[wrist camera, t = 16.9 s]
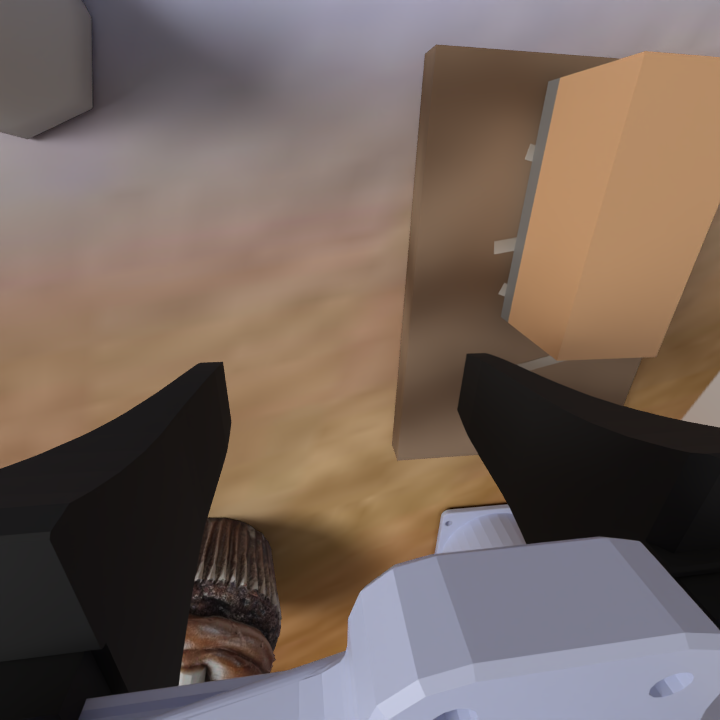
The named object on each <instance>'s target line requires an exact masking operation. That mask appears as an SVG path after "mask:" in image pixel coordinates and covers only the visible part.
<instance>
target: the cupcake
mask: <svg viewBox="0 0 720 720" xmlns="http://www.w3.org/2000/svg"><path fill="white" fill-rule="evenodd" d="M281 619H282V618H281V610H280V602H279V598H278V593H277V588H276V580H275V573H274V565H273V559H272V551H271V547H270V545H269V542H268V541H267V540H266V538H265V537H264V535H263V534H262V533H261V532H259V531H256V530H255V529H254V528H253V527H252V526H250V525H248V524H247V523H244V522H241V521H237V520H232V519H228V518H208V517H207V520H206V524H205V528H204V532H203V537H202V542H201V547H200V553H199V558H198V564H197V569H196V575H195V581H194V587H193V593H192V599H191V604H190V610H189V617H188V624H187V630H186V637H185V644H184V651H183V657H182V664H181V672H180V680H179V686H181V685H188V684H196V683H203V682H210V681H217V680H224V679H231V678H238V677H246V676H253V675H260V674H267V673H270V671H271V669H272V667H273V665H272V663H273V662H274V661H275V660H276V659H275V658H274V657H275V655H274V654H273V651H274V649H275V646H276V643H277V639H278V637H279V635H280V629H281Z"/></svg>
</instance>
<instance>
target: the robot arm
mask: <svg viewBox="0 0 720 720" xmlns="http://www.w3.org/2000/svg"><path fill="white" fill-rule="evenodd" d="M457 411H458V413H459V416H460V418H461V421H462V424H463V426H464V428H465V431H466V433H467V435H468V437H469V439H470V441H471V443H472V444H473V446H474V448H475V449H476V451H477V453H478V455H479V456H480V458H481V460H482V461H483V463H484V465H485V466H486V468H487V469H488V471H489V473H490V474H491V476H492V478H493V479H494V481H495V483H496V484H497V486H498V488H499V489H500V491H501V493H502V494H503V496H504V498H505V500H506V502H507V504H505V505H494V506H483V507H472V508H460V509H449V510H446V511H444V512H443V513H442V515H441V520H440V526H439V532H438V538H437V543H436V549H435V554H431V555H428V556H424V557H421V558H417V559H413V560H410V561H406V562H403V563H399V564H396V565H394V566H392V567H391V568H390V569H388V570H387V571H385V572H384V573H383V574H381V575H380V576H379V577H377V578H376V579H374V580H373V581H372V582H370V583H369V584H368V585H366V586H365V587H364V588H363V589H362V590H361V592H360V593H359V596H358V598H357V600H356V602H355V605H354V607H353V609H352V611H351V614H350V616H349V618H348V645H347V649H346V651H344V652H341V653H338V654H335V655H332V656H329V657H326V658H323V659H320V660H317V661H314V662H311V663H308V664H305V665H302V666H300V667H297V668H294V669H291V670H288V671H281V672H274V673H267V674H260V675H253V676H246V677H238V678H231V679H224V680H217V681H210V682H203V683H196V684H188V685H181V686H179V680H180V672H181V664H182V657H183V651H184V644H185V637H186V630H187V624H188V617H189V610H190V604H191V599H192V593H193V587H194V581H195V575H196V569H197V564H198V558H199V553H200V547H201V542H202V537H203V532H204V528H205V524H206V520H207V517H208V513H209V510H210V507H211V504H212V500H213V497H214V494H215V490H216V487H217V484H218V481H219V477H220V474H221V471H222V467H223V464H224V460H225V457H226V453H227V449H228V442H229V436H230V429H231V416H230V409H229V402H228V395H227V388H226V381H225V373H224V366H223V362H208V363H199V364H197V365H196V366H194V367H193V368H191V369H190V370H188V371H187V372H185V373H184V374H183V375H181V376H180V377H178V378H177V379H176V380H174V381H173V382H171V383H170V384H169V385H167V386H166V387H164V388H163V389H162V390H160V391H159V392H157V393H156V394H154V395H153V396H151V397H150V398H148V399H147V400H145V401H143V402H142V403H140V404H139V405H137V406H136V407H134V408H132V409H131V410H129V411H128V412H126V413H124V414H123V415H121V416H119V417H117V418H116V419H114V420H112V421H110V422H108V423H107V424H105V425H103V426H101V427H99V428H97V429H95V430H93V431H91V432H89V433H87V434H85V435H83V436H81V437H78V438H76V439H74V440H71V441H69V442H67V443H65V444H62V445H60V446H58V447H55V448H53V449H51V450H48V451H46V452H44V453H42V454H39V455H37V456H34V457H31V458H29V459H26V460H23V461H21V462H18V463H15V464H13V465H10V466H7V467H4V468H1V469H0V720H720V428H718V427H714V426H708V425H702V424H697V423H691V422H686V421H682V420H677V419H672V418H668V417H663V416H659V415H655V414H651V413H647V412H643V411H639V410H635V409H632V408H628V407H625V406H621V405H618V404H615V403H612V402H609V401H605V400H602V399H599V398H596V397H593V396H590V395H587V394H585V393H582V392H579V391H577V390H574V389H572V388H569V387H567V386H564V385H562V384H559V383H557V382H554V381H552V380H550V379H547V378H545V377H543V376H540V375H538V374H536V373H534V372H531V371H529V370H527V369H525V368H523V367H520V366H518V365H516V364H514V363H511V362H509V361H507V360H504V359H502V358H499V357H497V356H494V355H491V354H488V353H470V354H466V360H465V366H464V372H463V378H462V384H461V390H460V396H459V402H458V408H457Z"/></svg>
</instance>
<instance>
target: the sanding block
mask: <svg viewBox="0 0 720 720" xmlns="http://www.w3.org/2000/svg"><path fill="white" fill-rule="evenodd" d="M719 203H720V57H710V56H698V55H685V54H673V53H661V52H648V51H645V52H641V53H638V54H635V55H632V56H629V57H625V58H622V59H619V60H616V61H613V62H609V63H606V64H603V65H600V66H596V67H593V68H590V69H587V70H584V71H580V72H577V73H574V74H571V75H568V76H564V77H561V78H558V79H555V80H551V81H548V86H547V91H546V96H545V101H544V106H543V111H542V116H541V120H540V125H539V130H538V135H537V140H536V145H535V150H534V155H533V160H532V165H531V170H530V175H529V180H528V185H527V189H526V194H525V199H524V204H523V209H522V214H521V219H520V224H519V229H518V234H517V239H516V244H515V249H514V253H513V258H512V263H511V268H510V273H509V278H508V283H507V288H506V293H505V298H504V303H503V308H502V313H501V318H503V319H504V320H505V321H507V322H508V323H509V324H510V325H512V326H513V327H514V328H515V329H517V330H518V331H519V332H521V333H522V334H523V335H524V336H526V337H527V338H528V339H530V340H531V341H532V342H533V343H535V344H536V345H537V346H539V347H540V348H541V349H542V350H544V351H545V352H546V353H547V354H549V355H550V356H551V357H553V358H554V359H555V360H556V361H564V360H591V359H618V358H644V357H656V356H657V354H658V351H659V349H660V346H661V344H662V342H663V339H664V337H665V334H666V332H667V329H668V327H669V325H670V322H671V320H672V317H673V315H674V312H675V310H676V308H677V305H678V303H679V300H680V298H681V295H682V293H683V291H684V288H685V286H686V283H687V281H688V278H689V276H690V274H691V271H692V269H693V266H694V264H695V261H696V259H697V256H698V254H699V252H700V249H701V247H702V244H703V242H704V239H705V237H706V235H707V232H708V230H709V227H710V225H711V222H712V220H713V218H714V215H715V213H716V210H717V208H718V205H719Z"/></svg>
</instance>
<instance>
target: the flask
mask: <svg viewBox="0 0 720 720" xmlns="http://www.w3.org/2000/svg"><path fill="white" fill-rule="evenodd" d="M92 108H93V102H92V28H91V16H90V14H89V12H88V10H87V9H86V7H85V5H84V3H83V2H82V0H0V132H2V133H6V134H10V135H14V136H17V137H21V138H25V139H29V138H31V137H33V136H36V135H38V134H40V133H42V132H44V131H46V130H48V129H50V128H52V127H54V126H57V125H59V124H61V123H63V122H65V121H67V120H69V119H71V118H73V117H75V116H77V115H80V114H82V113H84V112H86V111H88V110H90V109H92Z"/></svg>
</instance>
